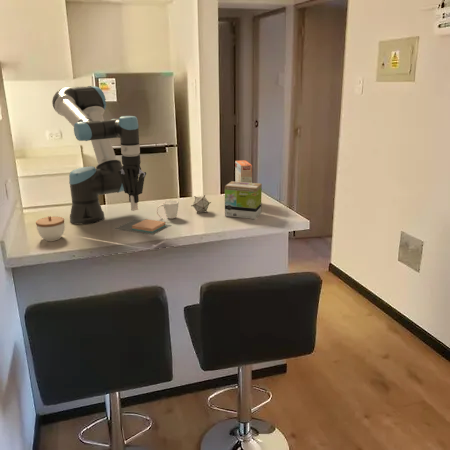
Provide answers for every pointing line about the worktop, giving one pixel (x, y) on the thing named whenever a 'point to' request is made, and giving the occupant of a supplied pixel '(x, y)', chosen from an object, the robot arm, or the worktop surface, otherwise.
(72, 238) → the worktop surface
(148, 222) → the tile
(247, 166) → the cracker box
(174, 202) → the cup
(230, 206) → the tea box
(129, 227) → the mat
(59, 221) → the lidded jar
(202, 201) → the game die
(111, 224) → the worktop surface
